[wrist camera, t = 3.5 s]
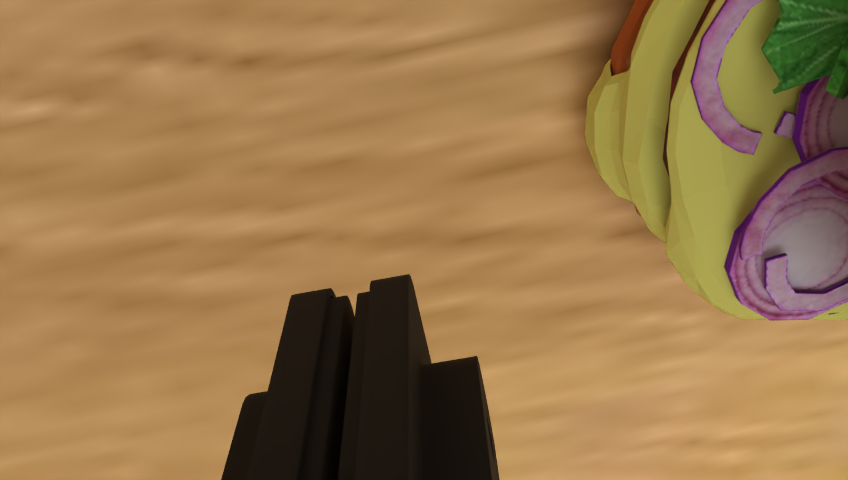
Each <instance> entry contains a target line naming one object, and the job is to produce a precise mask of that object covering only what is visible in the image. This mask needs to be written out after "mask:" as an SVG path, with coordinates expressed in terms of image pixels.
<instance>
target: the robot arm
mask: <svg viewBox="0 0 848 480" xmlns="http://www.w3.org/2000/svg"><path fill="white" fill-rule="evenodd" d="M221 480H499V473H498V466H497V459H496V452H495V445H494V439H493V433H492V427H491V422H490V416H489V410H488V405H487V400H486V395H485V390H484V385H483V380H482V375H481V370H480V365H479V361H478V358H477V356H474V357H469V358H463V359H457V360H451V361H445V362H439V363H433V364H431V359H430V355H429V351H428V346H427V342H426V338H425V333H424V329H423V325H422V321H421V316H420V312H419V308H418V303H417V299H416V295H415V291H414V286H413V283H412V279H411V276H410V275H409V274H408V275H402V276H396V277H391V278H385V279H379V280H374V281H371V283H370V292H364V293H359V294H358V295H357V302H356V312H355V316H354V313H353V309H352V306H351V303H350V300H349V298H348V296H341V297H336V296H335V294H334V292H333V290H332V289H331V288H328V289H323V290H317V291H311V292H306V293H300V294H294V295H292V296H291V298H290V302H289V306H288V310H287V314H286V318H285V322H284V327H283V331H282V335H281V339H280V343H279V347H278V351H277V355H276V359H275V363H274V367H273V372H272V376H271V380H270V384H269V388H268V391H266V392H260V393H254V394H250V395H248V396H247V397H246V398H245V400H244V402H243V405H242V408H241V411H240V415H239V419H238V422H237V426H236V429H235V433H234V436H233V440H232V443H231V447H230V450H229V454H228V458H227V461H226V465H225V468H224V472H223V475H222V479H221Z"/></svg>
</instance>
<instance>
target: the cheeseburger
mask: <svg viewBox="0 0 848 480" xmlns="http://www.w3.org/2000/svg"><path fill="white" fill-rule="evenodd" d="M585 140H586V143H587V146H588V148H589V151H590V154H591V156H592V159H593V162H594V164H595V167H596V170H597V172H598V173H599V175H600V176H601V177H602V179H603V180H604V181H605V182H606V184H607V185H608V186H609V187H610V189H611V190H612V191H613V192H614V193H615V195H616V196H618V197H621V198H624V199H626V200H629V201H632V202H633V203H634V205H635V208H636V211H637V213H638V214H639V215H640V216H641V217H642V218H643V220H644V221H645V223H646V225H647V227H648V228H649V230H650V231H651V232H652V233H653V234H655V235H656V236H657V237H658V238H659V239H661V240H662V241H663V242H664V243H666V255H667V256H668V258H669V259H670V261H671V262H672V264H673V265H674V267H675V268H676V270H677V271H678V273H679V274H680V276H681V277H682V279H683V280H684V281H685V282H686V283H687V284H688V285H689V286H690V287H691V288H692V289H693V290H694V291H695V292H696V293H697V294H698V295H700V296H701V297H702V298H703V299H705V300H706V301H707V302H709V303H710V304H711V305H712V306H714V307H715V308H717V309H719V310H721V311H723V312H726V313H728V314H730V315H732V316H735V317H737V318H739V319H769V320H809V319H840V320H848V0H636V1H635V3H634V5H633V7H632V9H631V11H630V13H629V15H628V17H627V19H626V21H625V23H624V25H623V27H622V30H621V32H620V34H619V36H618V38H617V40H616V42H615V44H614V46H613V48H612V50H611V59H610V60H609V61H608V62H607V64H606V65H605V67H604V69H603V72H602V74H601V76H600V77H599V79H598V81H597V82H596V84H595V86H594V87H593V89H592V91H591V92H590V94H589V96H588V99H587V113H586V127H585Z"/></svg>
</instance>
